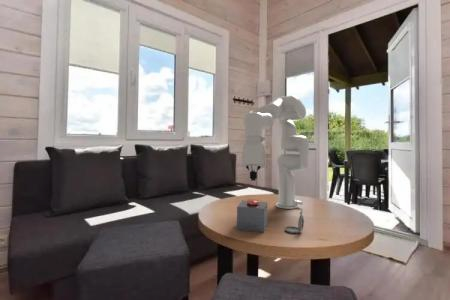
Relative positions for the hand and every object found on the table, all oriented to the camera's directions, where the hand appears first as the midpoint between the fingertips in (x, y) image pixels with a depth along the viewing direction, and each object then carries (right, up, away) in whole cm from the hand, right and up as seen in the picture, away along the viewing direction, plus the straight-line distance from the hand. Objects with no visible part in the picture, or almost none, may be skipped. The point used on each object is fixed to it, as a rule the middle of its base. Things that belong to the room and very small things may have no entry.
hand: (253, 180), depth 115 cm
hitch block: (0, -22, +1) cm, 22 cm away
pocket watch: (+18, -22, -5) cm, 29 cm away
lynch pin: (0, -21, +1) cm, 21 cm away
